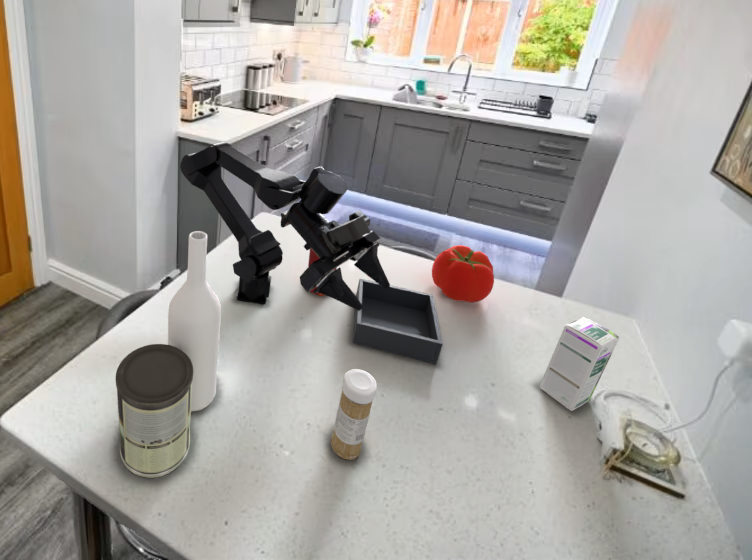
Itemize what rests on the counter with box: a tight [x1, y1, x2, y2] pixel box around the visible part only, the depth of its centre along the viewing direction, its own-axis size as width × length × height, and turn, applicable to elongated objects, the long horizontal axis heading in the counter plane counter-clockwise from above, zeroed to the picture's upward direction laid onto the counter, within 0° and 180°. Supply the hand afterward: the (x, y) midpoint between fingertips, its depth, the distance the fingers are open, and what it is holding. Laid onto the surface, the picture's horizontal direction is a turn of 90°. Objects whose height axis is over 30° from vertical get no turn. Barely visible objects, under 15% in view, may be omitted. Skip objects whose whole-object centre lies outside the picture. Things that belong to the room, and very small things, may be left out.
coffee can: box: [115, 343, 193, 479], centre depth 61 cm, size 10×10×14 cm
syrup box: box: [539, 316, 620, 412], centre depth 75 cm, size 6×6×14 cm
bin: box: [352, 278, 444, 365], centre depth 90 cm, size 16×16×5 cm
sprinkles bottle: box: [330, 368, 378, 461], centre depth 63 cm, size 5×5×14 cm
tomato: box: [431, 244, 495, 303], centre depth 102 cm, size 14×13×10 cm
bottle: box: [167, 230, 222, 412], centre depth 67 cm, size 8×8×30 cm
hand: (375, 297), depth 74 cm, fingers open, 9 cm apart
